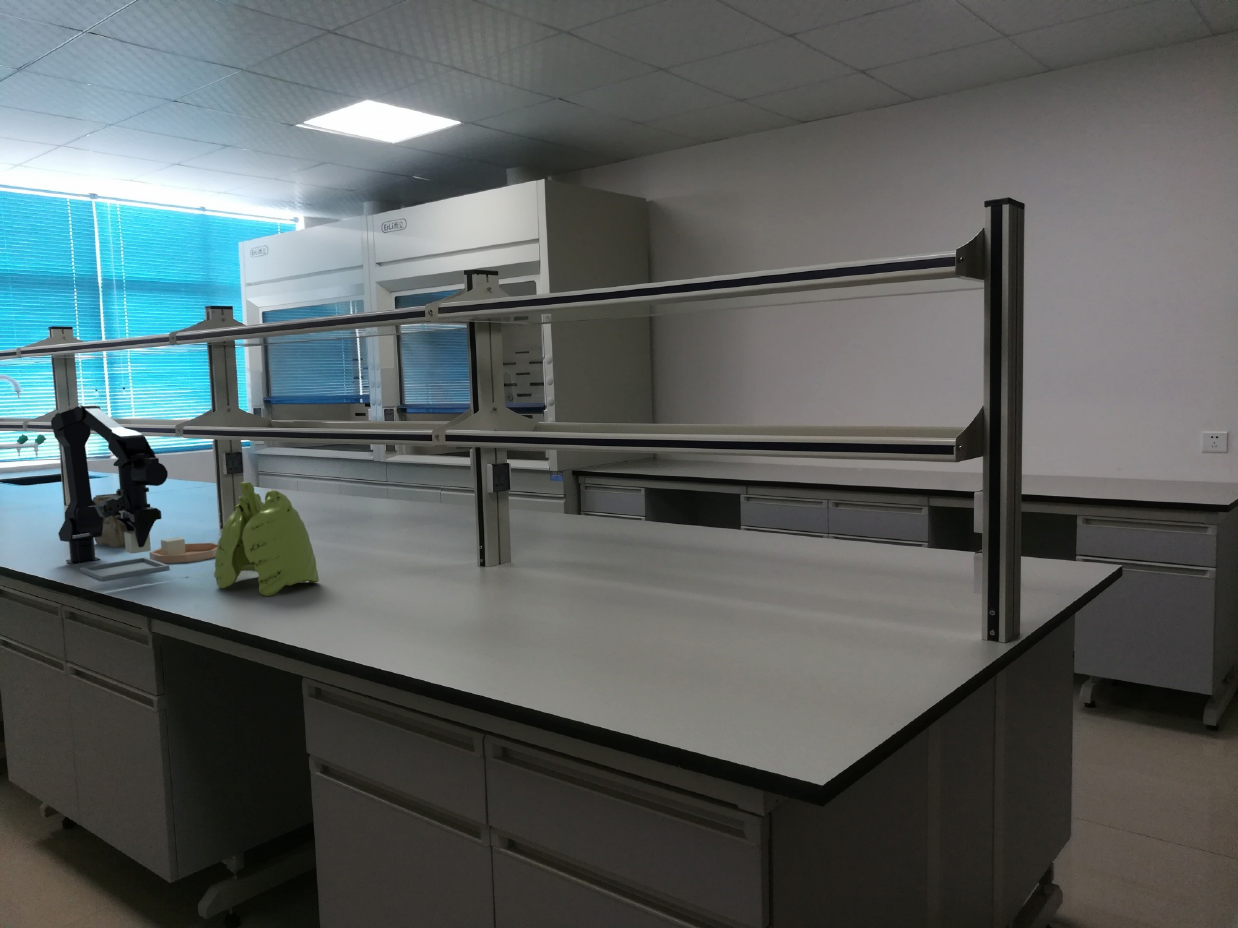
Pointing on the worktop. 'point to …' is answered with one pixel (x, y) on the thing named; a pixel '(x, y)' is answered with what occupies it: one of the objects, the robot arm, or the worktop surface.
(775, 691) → the worktop surface
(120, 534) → the mineral sample
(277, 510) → the lungs
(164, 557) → the bowl
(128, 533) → the block
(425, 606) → the worktop surface
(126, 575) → the parts tray
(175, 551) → the block
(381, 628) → the worktop surface
